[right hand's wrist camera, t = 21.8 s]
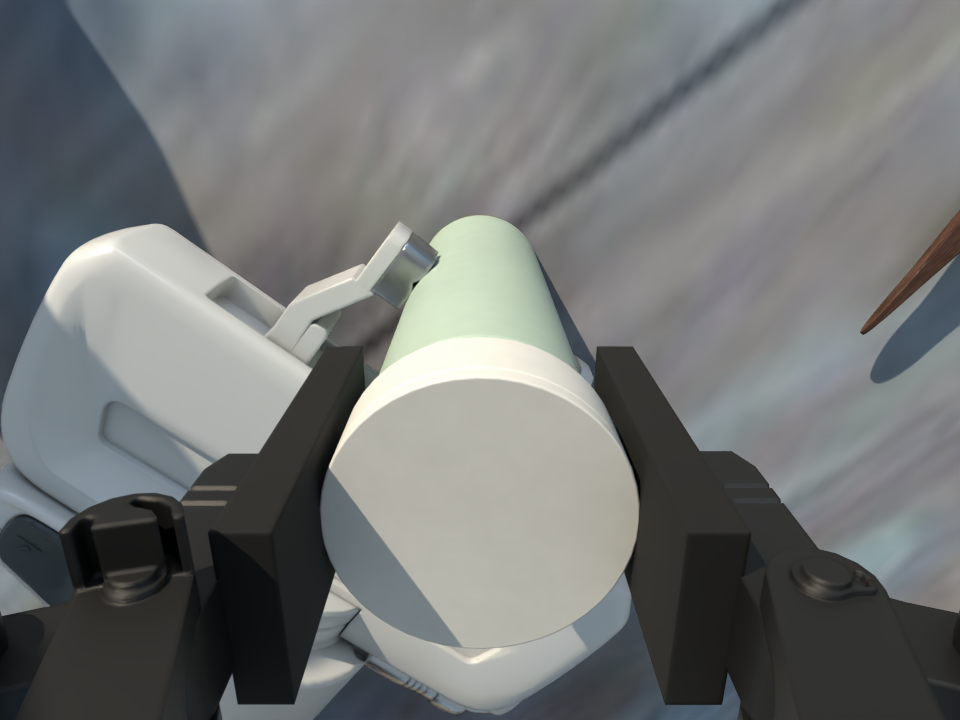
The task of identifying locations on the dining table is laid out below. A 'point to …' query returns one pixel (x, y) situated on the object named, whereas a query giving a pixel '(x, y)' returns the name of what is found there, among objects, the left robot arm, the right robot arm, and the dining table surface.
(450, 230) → the light green cylinder
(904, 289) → the fork
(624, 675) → the dining table surface
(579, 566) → the lid
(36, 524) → the left robot arm
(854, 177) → the dining table surface
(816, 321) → the dining table surface
